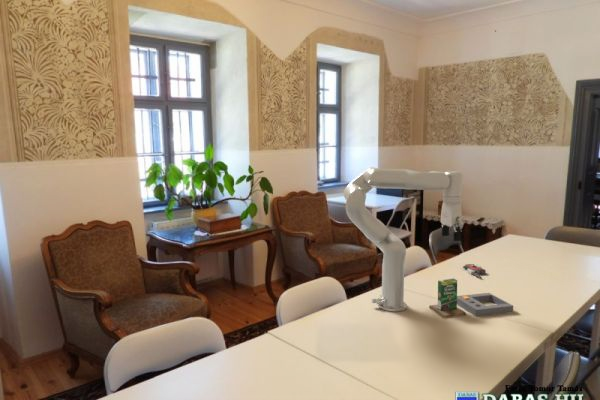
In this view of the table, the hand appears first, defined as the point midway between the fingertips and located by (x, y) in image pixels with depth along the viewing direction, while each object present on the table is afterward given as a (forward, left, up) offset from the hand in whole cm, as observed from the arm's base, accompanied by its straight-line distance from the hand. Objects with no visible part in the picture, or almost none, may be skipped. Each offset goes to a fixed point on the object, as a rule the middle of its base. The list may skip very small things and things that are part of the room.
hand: (450, 238), depth 186 cm
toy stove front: (+13, -6, -31) cm, 34 cm away
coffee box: (-5, -6, -30) cm, 31 cm away
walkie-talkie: (+40, +36, -31) cm, 62 cm away
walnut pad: (-5, -6, -31) cm, 32 cm away
